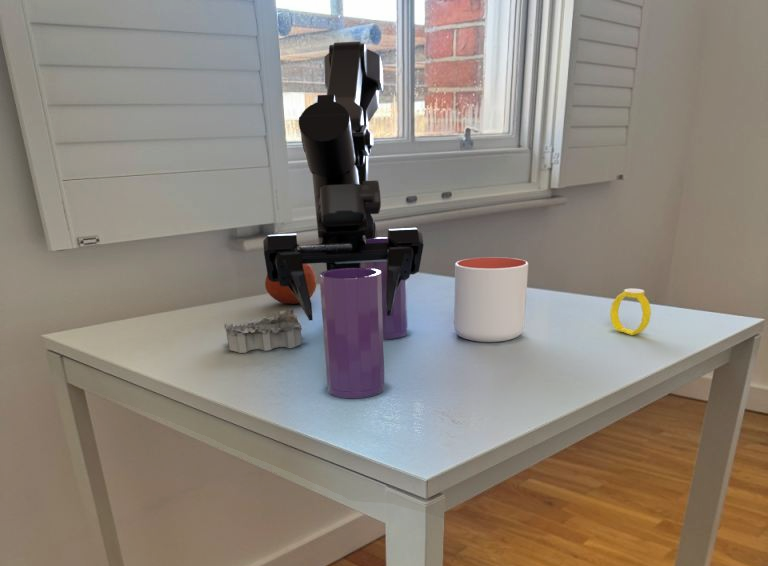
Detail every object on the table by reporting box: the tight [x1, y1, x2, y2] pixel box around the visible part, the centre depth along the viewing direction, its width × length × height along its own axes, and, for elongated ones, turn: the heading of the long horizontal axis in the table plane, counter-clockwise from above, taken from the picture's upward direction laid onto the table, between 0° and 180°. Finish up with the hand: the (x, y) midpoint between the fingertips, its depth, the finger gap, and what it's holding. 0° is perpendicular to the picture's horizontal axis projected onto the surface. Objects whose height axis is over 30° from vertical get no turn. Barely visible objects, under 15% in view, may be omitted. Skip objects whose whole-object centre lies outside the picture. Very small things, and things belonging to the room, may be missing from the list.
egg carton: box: [224, 308, 303, 354], centre depth 99 cm, size 11×8×4 cm
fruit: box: [264, 264, 317, 305], centre depth 123 cm, size 9×9×8 cm
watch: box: [609, 287, 652, 336], centre depth 98 cm, size 6×3×6 cm, turn 32°
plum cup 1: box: [319, 268, 386, 399], centre depth 78 cm, size 7×7×13 cm
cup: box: [453, 256, 529, 343], centre depth 99 cm, size 10×10×10 cm
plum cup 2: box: [359, 237, 408, 341], centre depth 100 cm, size 7×7×13 cm
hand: (350, 316), depth 82 cm, fingers open, 9 cm apart
